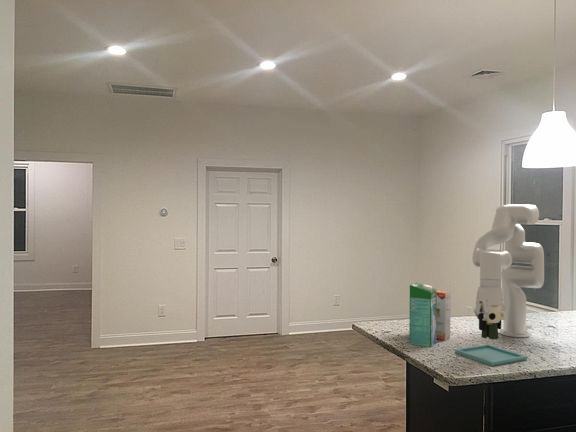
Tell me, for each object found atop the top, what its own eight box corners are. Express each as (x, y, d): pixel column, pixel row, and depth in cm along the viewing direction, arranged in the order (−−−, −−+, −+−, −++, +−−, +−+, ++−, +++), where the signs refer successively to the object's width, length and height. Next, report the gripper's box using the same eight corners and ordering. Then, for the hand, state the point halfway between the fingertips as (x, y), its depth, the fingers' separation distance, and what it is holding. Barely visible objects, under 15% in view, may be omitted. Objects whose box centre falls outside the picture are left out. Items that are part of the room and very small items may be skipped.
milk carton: (430, 347, 191) (431, 286, 191) (409, 343, 196) (409, 284, 196) (436, 342, 198) (436, 283, 199) (415, 339, 203) (415, 282, 203)
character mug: (472, 338, 179) (472, 304, 179) (478, 334, 184) (478, 302, 184) (502, 343, 172) (502, 308, 172) (507, 339, 177) (507, 305, 177)
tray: (487, 348, 190) (487, 344, 190) (526, 360, 174) (526, 356, 174) (454, 353, 182) (454, 349, 182) (492, 366, 166) (492, 362, 166)
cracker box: (415, 335, 210) (415, 289, 210) (421, 333, 214) (421, 287, 214) (444, 341, 200) (445, 292, 200) (450, 338, 205) (450, 291, 205)
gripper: (498, 281, 185) (497, 325, 185) (466, 283, 178) (465, 329, 177) (514, 283, 178) (514, 329, 178) (481, 285, 171) (481, 333, 171)
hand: (490, 329), depth 178 cm, fingers closed on character mug, 7 cm apart
